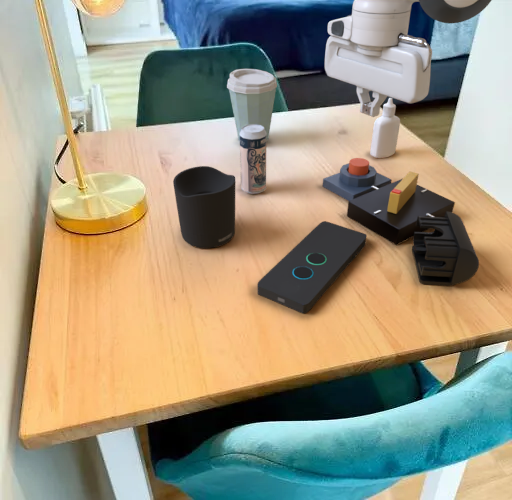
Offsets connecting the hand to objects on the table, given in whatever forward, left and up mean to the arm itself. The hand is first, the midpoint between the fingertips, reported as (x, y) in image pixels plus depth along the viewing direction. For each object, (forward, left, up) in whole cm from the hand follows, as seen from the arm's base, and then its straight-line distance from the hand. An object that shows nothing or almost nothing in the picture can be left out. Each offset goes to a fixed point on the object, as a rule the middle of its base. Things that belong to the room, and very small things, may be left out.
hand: (369, 114), depth 87 cm
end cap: (+9, +25, -14) cm, 30 cm away
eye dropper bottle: (-14, -7, -14) cm, 22 cm away
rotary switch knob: (+3, +12, -11) cm, 16 cm away
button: (+1, 0, -11) cm, 11 cm away
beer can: (+17, -11, -14) cm, 25 cm away
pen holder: (+32, -3, -14) cm, 35 cm away
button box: (+1, 0, -14) cm, 14 cm away
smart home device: (+24, +14, -14) cm, 31 cm away
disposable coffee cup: (+4, -29, -14) cm, 33 cm away
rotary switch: (+3, +12, -14) cm, 18 cm away
